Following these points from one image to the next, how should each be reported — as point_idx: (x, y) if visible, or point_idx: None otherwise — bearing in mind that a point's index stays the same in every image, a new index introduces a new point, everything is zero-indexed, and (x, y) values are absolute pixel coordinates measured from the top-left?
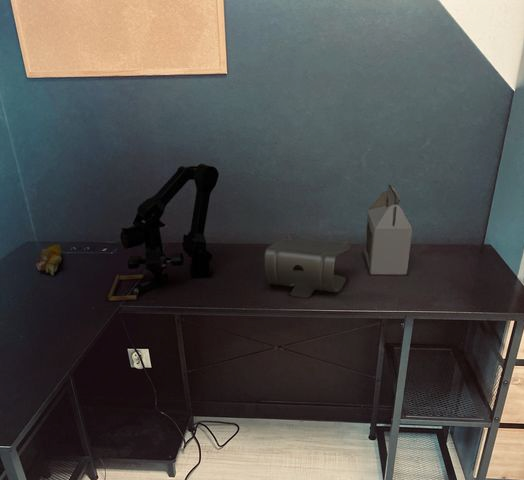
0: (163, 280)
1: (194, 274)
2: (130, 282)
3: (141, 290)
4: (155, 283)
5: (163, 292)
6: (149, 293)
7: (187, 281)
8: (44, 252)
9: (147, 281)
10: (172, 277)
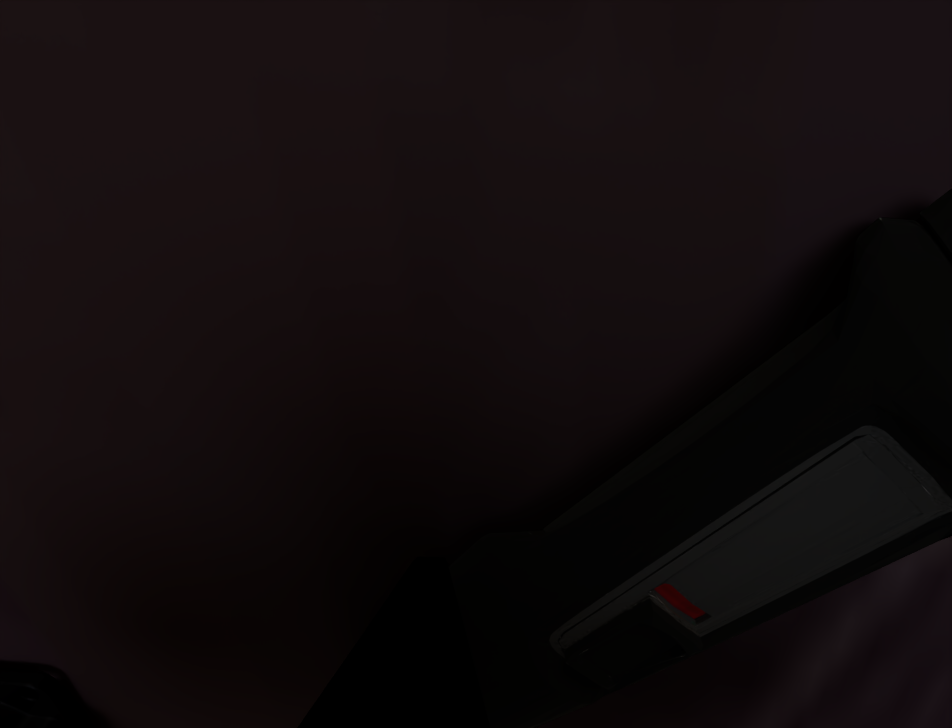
0: None
1: (30, 721)
2: (901, 706)
3: (903, 275)
4: (510, 574)
5: (338, 292)
6: (641, 287)
7: (77, 603)
8: None
9: (692, 633)
10: None
